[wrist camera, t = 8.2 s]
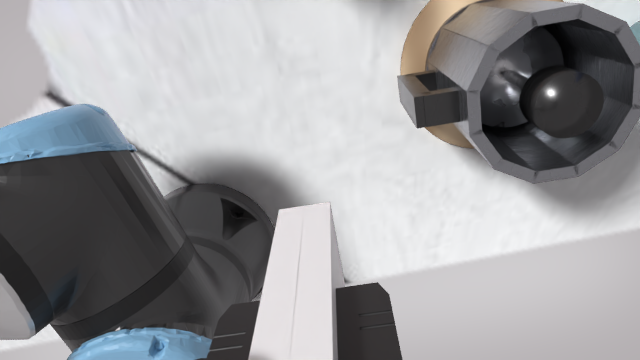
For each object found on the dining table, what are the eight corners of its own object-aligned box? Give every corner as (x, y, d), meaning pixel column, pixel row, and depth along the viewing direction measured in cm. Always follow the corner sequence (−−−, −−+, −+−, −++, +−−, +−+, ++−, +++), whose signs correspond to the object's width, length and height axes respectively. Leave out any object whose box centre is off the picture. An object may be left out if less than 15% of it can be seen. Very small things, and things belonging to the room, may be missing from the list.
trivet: (409, 158, 52) (410, 160, 51) (390, -11, 46) (391, -11, 45) (574, 132, 51) (576, 134, 50) (577, -46, 44) (580, -46, 44)
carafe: (400, 141, 51) (429, 201, 37) (386, 16, 46) (412, 31, 32) (568, 114, 49) (663, 165, 35) (569, -17, 45) (679, -17, 31)
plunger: (457, 132, 45) (500, 181, 34) (449, 30, 42) (494, 47, 31) (559, 116, 44) (637, 160, 33) (560, 10, 41) (647, 20, 30)
